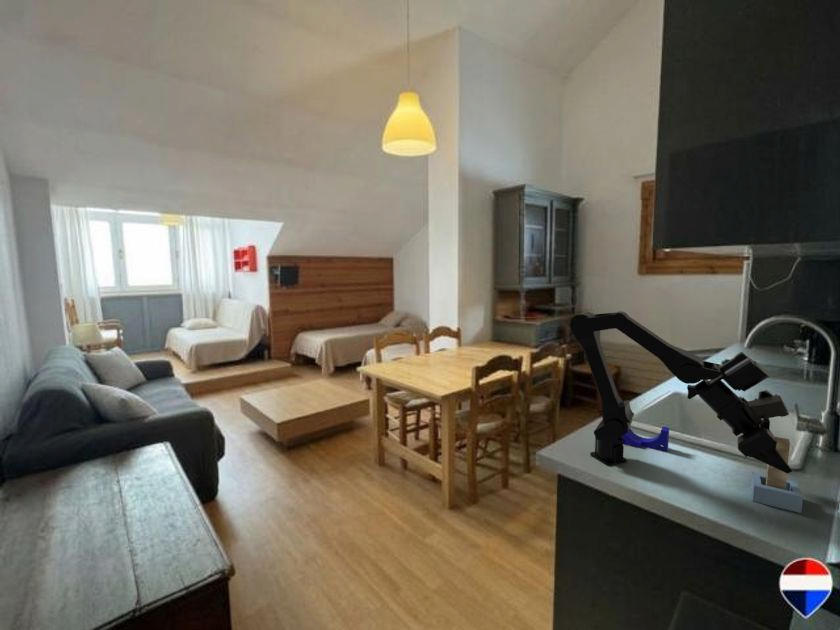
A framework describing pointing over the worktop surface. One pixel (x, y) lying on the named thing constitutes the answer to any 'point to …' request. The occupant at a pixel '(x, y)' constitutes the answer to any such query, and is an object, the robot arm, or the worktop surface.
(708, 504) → the worktop surface
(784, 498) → the blue-grey socket block
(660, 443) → the cable clip
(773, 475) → the slat
